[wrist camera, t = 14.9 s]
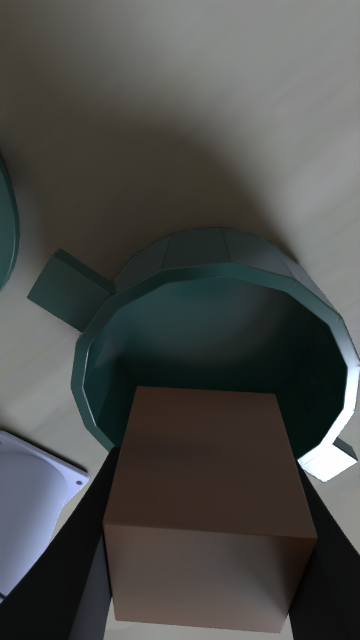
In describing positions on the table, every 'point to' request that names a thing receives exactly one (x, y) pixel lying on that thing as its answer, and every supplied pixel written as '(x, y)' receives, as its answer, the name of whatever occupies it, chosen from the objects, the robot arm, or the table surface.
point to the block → (206, 512)
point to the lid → (7, 227)
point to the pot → (209, 336)
